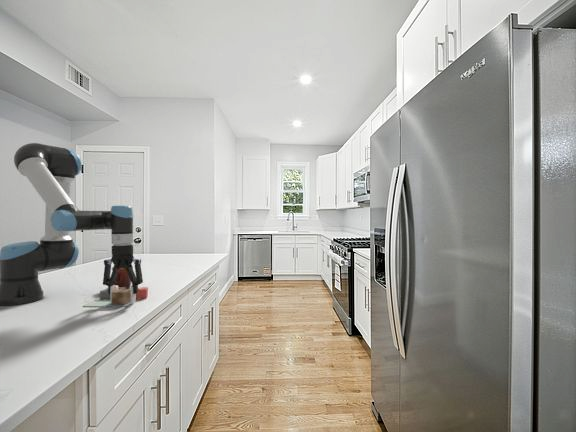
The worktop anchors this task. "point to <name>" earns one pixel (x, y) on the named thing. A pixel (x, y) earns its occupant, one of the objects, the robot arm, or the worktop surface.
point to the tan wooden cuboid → (121, 297)
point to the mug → (122, 278)
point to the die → (142, 293)
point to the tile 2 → (118, 305)
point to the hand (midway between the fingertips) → (123, 302)
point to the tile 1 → (98, 303)
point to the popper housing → (105, 295)
